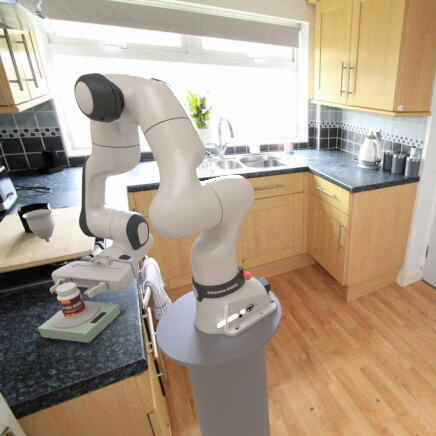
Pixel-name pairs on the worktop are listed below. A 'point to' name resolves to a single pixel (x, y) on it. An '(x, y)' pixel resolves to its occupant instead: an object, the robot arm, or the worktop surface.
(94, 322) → the scale
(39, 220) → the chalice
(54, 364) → the worktop surface
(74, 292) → the pill bottle
